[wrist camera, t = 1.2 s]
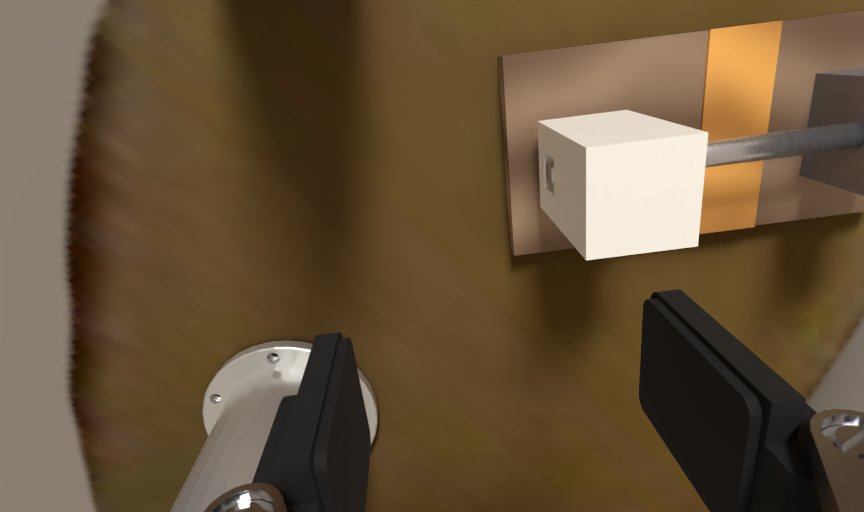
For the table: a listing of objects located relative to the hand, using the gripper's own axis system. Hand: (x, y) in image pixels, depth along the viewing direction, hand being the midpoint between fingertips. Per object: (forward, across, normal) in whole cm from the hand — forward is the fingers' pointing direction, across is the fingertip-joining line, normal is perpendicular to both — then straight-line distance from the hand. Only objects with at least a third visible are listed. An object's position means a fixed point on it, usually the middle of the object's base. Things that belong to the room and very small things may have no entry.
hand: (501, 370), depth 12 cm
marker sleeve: (+19, -8, 0) cm, 21 cm away
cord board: (+22, -16, 0) cm, 27 cm away
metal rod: (+17, -14, 0) cm, 22 cm away
